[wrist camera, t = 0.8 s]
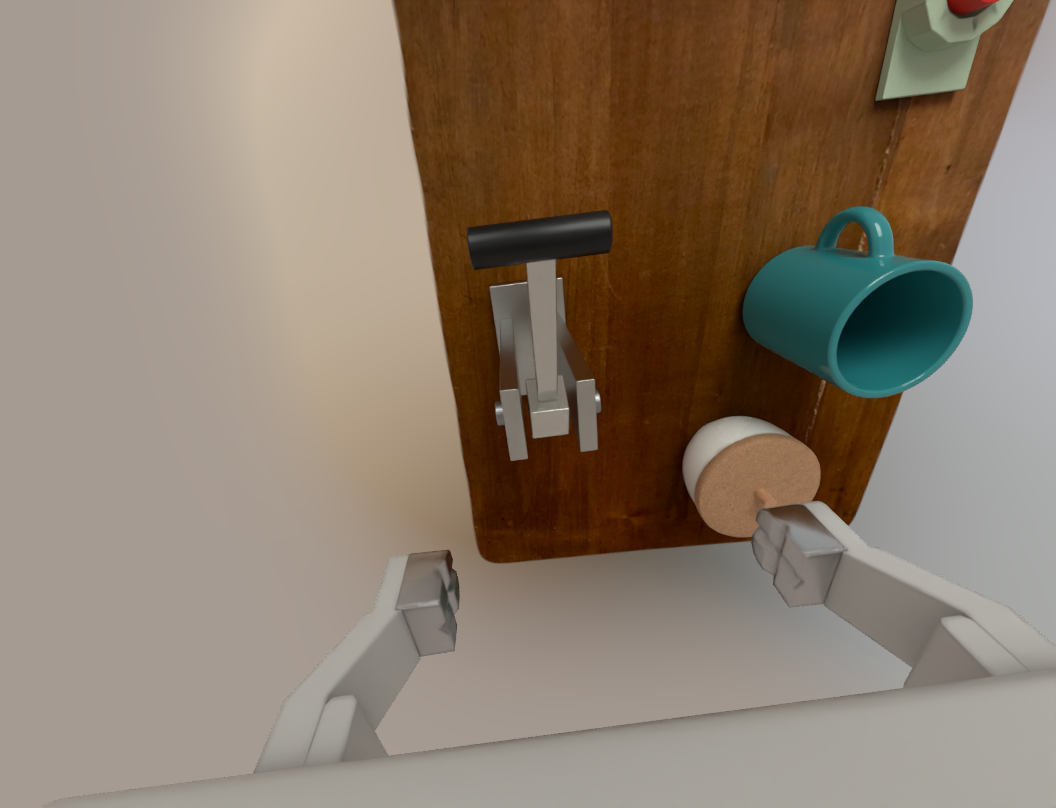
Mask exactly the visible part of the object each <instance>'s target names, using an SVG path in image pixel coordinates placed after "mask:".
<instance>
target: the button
mask: <svg viewBox="0 0 1056 808" xmlns="http://www.w3.org/2000/svg"><path fill="white" fill-rule="evenodd" d="M998 1H1000V0H947V5H948V8H949V9H950V10H951V11H952V12H953V13H955V14H959V15H964V14H968V13H971V12H973V11H976V10H978V9H981V8H983V7H986V6H988V5H990V4H993V3H995V2H998Z"/></svg>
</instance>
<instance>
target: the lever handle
mask: <svg viewBox="0 0 1056 808" xmlns="http://www.w3.org/2000/svg"><path fill="white" fill-rule="evenodd" d="M467 241H468V249H469V254H470V260H471V264H472V267H473V269H474V270H478V269H486V268H494V267H502V266H510V265H518V264H525V266H526V278H527V289H528V300H529V312H530V323H531V335H532V346H533V358H534V369H535V378H533V379H526V381H525V383H526V391H527V399H528V407H529V415H530V423H531V430H532V437H533V438H541V437H549V436H556V435H564V434H569V420H570V407H569V402H568V397H567V391H566V386H565V381H564V376H563V375H558V370H557V292H556V260H557V259H565V258H573V257H581V256H589V255H597V254H605V253H609V252H610V250H611V246H612V222H611V217H610V214H609V212H608V211H607V210H602V211H594V212H586V213H578V214H570V215H562V216H554V217H546V218H539V219H531V220H523V221H515V222H507V223H499V224H491V225H483V226H475V227H468V228H467Z"/></svg>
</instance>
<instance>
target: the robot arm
mask: <svg viewBox="0 0 1056 808" xmlns="http://www.w3.org/2000/svg"><path fill="white" fill-rule="evenodd" d="M755 520H756V522H757V523H758V524H759V527H758V528H757V529H756V530H755V531H754V532H753V535H752V542H751V543H752V548H753V553H754V555H755V557H756V560H757V561H758V563H759V564H760V566H761V567H762V569H763V570H765V571H766V572H768V573H770V574H771V575H773V576H774V580H773V585H774V586H775V588H776V589H777V591H778V592H779V593H780V595H781V596H782V598H783V599H784V601H785V602H786V603H787V605H788V606H789V607H799V606H809V605H819V604H824V606H825V607H827V608H828V609H829V610H831V611H832V612H834V613H835V614H837V615H838V616H839V617H841V618H842V619H844V620H845V621H847V622H848V623H850V624H851V625H852V626H854V627H855V628H856V629H858V630H859V631H861V632H862V633H864V634H865V635H867V636H868V637H870V638H871V639H872V640H874V641H875V642H877V643H878V644H879V645H881V646H882V647H884V648H885V649H886V650H888V651H889V652H891V653H892V654H894V655H895V656H896V657H898V658H899V659H901V660H902V661H904V662H905V663H906V664H908V665H909V666H911V667H912V670H911V672H910V673H909V675H908V677H907V679H906V681H905V682H904V687H903V688H901V689H894V690H886V691H878V692H871V693H863V694H855V695H848V696H840V697H833V698H825V699H817V700H810V701H803V702H795V703H787V704H779V705H772V706H764V707H756V708H749V709H741V710H733V711H726V712H718V713H710V714H702V715H695V716H688V717H680V718H672V719H665V720H657V721H650V722H642V723H635V724H627V725H619V726H612V727H604V728H597V729H589V730H581V731H574V732H566V733H558V734H551V735H543V736H536V737H528V738H521V739H513V740H505V741H498V742H490V743H483V744H475V745H468V746H460V747H453V748H444V749H437V750H429V751H422V752H414V753H406V754H399V755H391V756H388V754H387V752H386V750H385V749H384V747H383V745H382V743H381V742H380V740H379V738H378V736H377V734H376V733H375V730H376V728H377V727H378V725H379V723H380V722H381V720H382V719H383V717H384V715H385V714H386V712H387V711H388V709H389V708H390V706H391V705H392V703H393V701H394V700H395V698H396V696H397V695H398V694H399V692H400V690H401V689H402V687H403V686H404V684H405V683H406V681H407V679H408V678H409V676H410V675H411V673H412V672H413V670H414V668H415V667H416V665H417V664H418V662H419V661H420V657H421V656H427V655H433V654H440V653H446V652H452V651H455V641H456V631H457V624H456V620H455V617H454V614H455V613H456V612H457V610H458V609H459V583H458V576H457V573H456V571H455V570H454V569H452V562H453V559H452V556H451V552H450V551H449V550H442V551H432V552H422V553H413V554H406V555H397V556H391V558H390V559H389V560H388V562H387V566H386V569H385V573H384V576H383V579H382V582H381V586H380V589H379V592H378V596H377V599H376V602H375V606H374V609H373V612H372V613H369V614H366V615H365V616H364V617H363V618H362V619H361V620H360V621H359V622H358V623H357V624H356V625H355V627H353V628H352V630H351V631H350V632H349V633H348V634H347V635H346V636H345V637H344V638H343V639H342V640H341V641H340V642H339V643H338V644H337V645H336V646H335V648H334V649H333V650H332V651H331V652H330V653H329V654H328V655H327V656H326V657H325V658H324V659H323V660H322V661H321V662H320V663H319V664H318V666H317V667H316V668H315V669H314V670H313V671H312V672H311V673H310V674H309V675H308V676H307V677H306V678H305V679H304V680H303V681H302V682H301V684H300V685H299V686H298V687H297V688H296V689H295V690H294V691H293V692H292V693H291V694H290V695H289V696H288V697H287V698H286V699H285V700H284V702H283V704H282V706H281V709H280V711H279V713H278V716H277V718H276V720H275V723H274V725H273V728H272V730H271V732H270V734H269V737H268V739H267V742H266V744H265V747H264V749H263V751H262V753H261V756H260V758H259V760H258V763H257V765H256V768H255V770H254V772H253V774H246V775H238V776H231V777H223V778H215V779H208V780H201V781H192V782H186V783H177V784H170V785H162V786H154V787H147V788H139V789H131V790H124V791H115V792H107V793H99V794H92V795H83V796H75V797H69V798H63V799H59V800H56V801H53V802H50V803H48V804H45V805H43V806H41V807H39V808H1056V645H1055V644H1054V643H1053V642H1051V641H1050V640H1049V639H1048V638H1046V637H1045V636H1044V635H1043V634H1042V633H1040V632H1039V631H1038V630H1036V629H1035V628H1034V627H1033V626H1032V625H1031V624H1029V623H1028V622H1027V621H1025V619H1023V618H1022V617H1021V616H1020V615H1018V614H1017V613H1016V612H1015V611H1013V610H1012V609H1011V608H1010V607H1007V606H1006V605H1003V604H1001V603H999V602H997V601H994V600H992V599H990V598H988V597H986V596H983V595H981V594H979V593H977V592H975V591H972V590H970V589H968V588H966V587H963V586H961V585H959V584H957V583H955V582H952V581H950V580H948V579H946V578H944V577H942V576H939V575H937V574H935V573H933V572H930V571H928V570H926V569H924V568H922V567H919V566H917V565H915V564H913V563H910V562H908V561H906V560H904V559H902V558H900V557H897V556H895V555H893V554H891V553H888V552H886V551H884V550H882V549H880V548H870V547H869V546H868V545H867V544H866V543H865V542H864V541H863V540H862V539H861V538H860V537H859V536H858V535H857V534H856V533H855V532H854V531H853V530H852V529H851V528H849V526H847V525H846V524H845V523H844V522H843V521H842V520H841V519H840V518H839V517H838V516H837V515H836V514H835V513H834V512H833V511H832V510H831V509H830V508H829V507H828V506H827V505H826V504H824V503H822V502H820V501H814V502H807V503H800V504H792V505H785V506H778V507H771V508H764V509H760V510H759V511H758V512H757V515H756V519H755Z"/></svg>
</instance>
